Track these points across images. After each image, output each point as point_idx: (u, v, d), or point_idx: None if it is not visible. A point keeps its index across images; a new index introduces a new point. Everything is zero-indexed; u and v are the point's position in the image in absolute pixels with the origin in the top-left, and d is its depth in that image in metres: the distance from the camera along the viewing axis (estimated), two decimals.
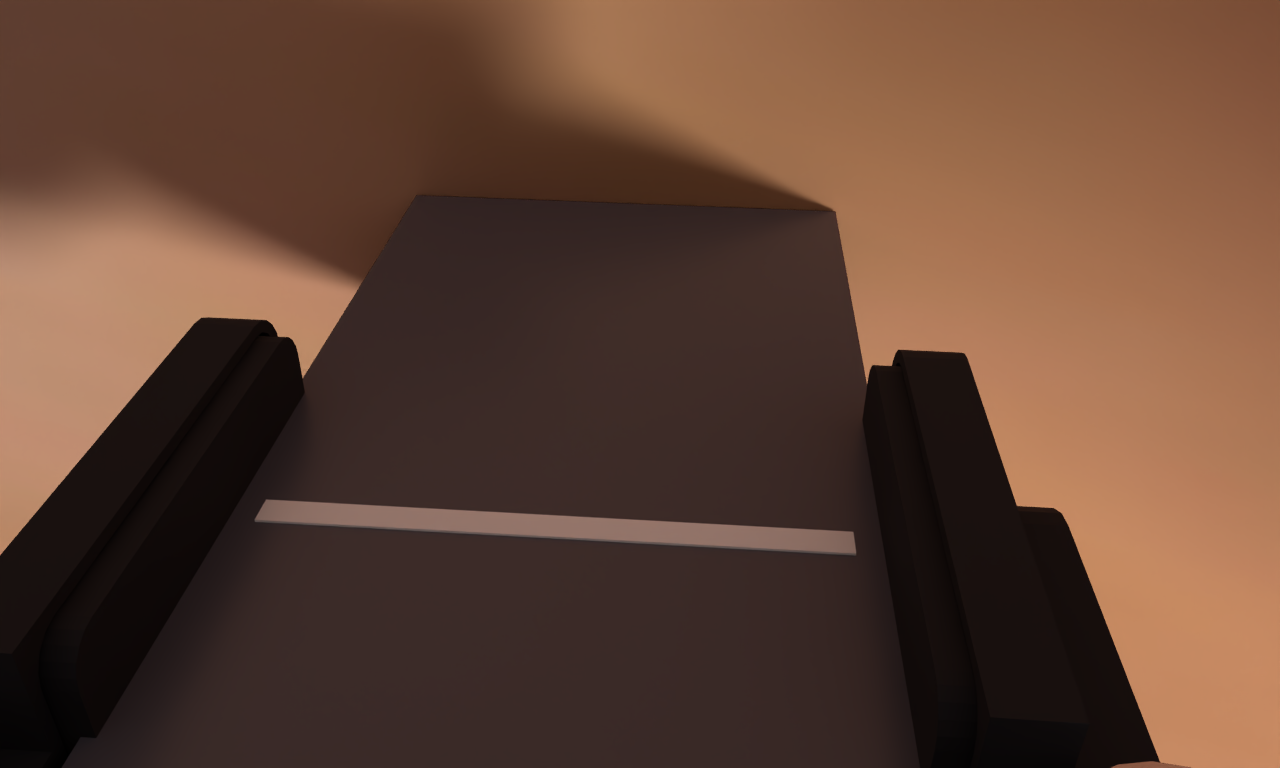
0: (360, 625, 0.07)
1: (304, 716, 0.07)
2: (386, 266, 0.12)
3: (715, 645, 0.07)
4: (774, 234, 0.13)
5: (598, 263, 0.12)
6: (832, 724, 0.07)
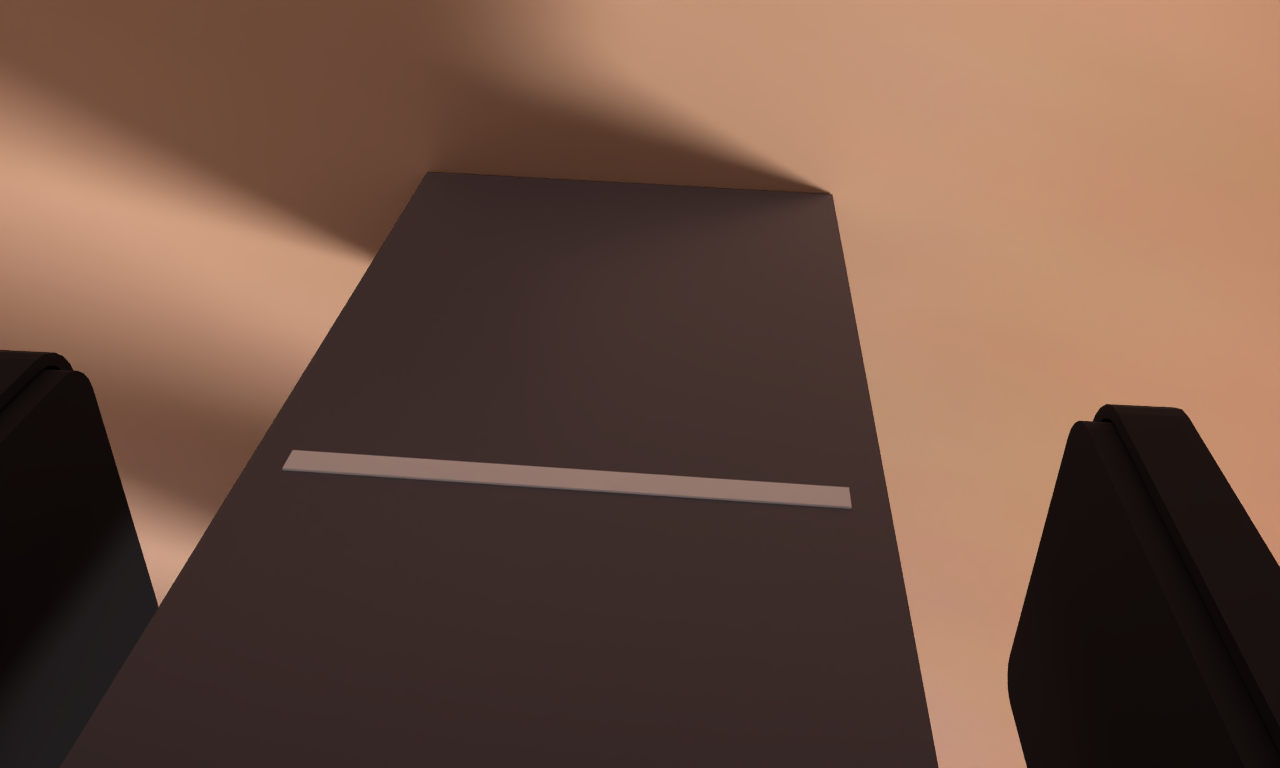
0: (386, 564, 0.08)
1: (338, 642, 0.07)
2: (400, 237, 0.12)
3: (720, 586, 0.08)
4: (773, 214, 0.13)
5: (605, 238, 0.12)
6: (829, 657, 0.07)
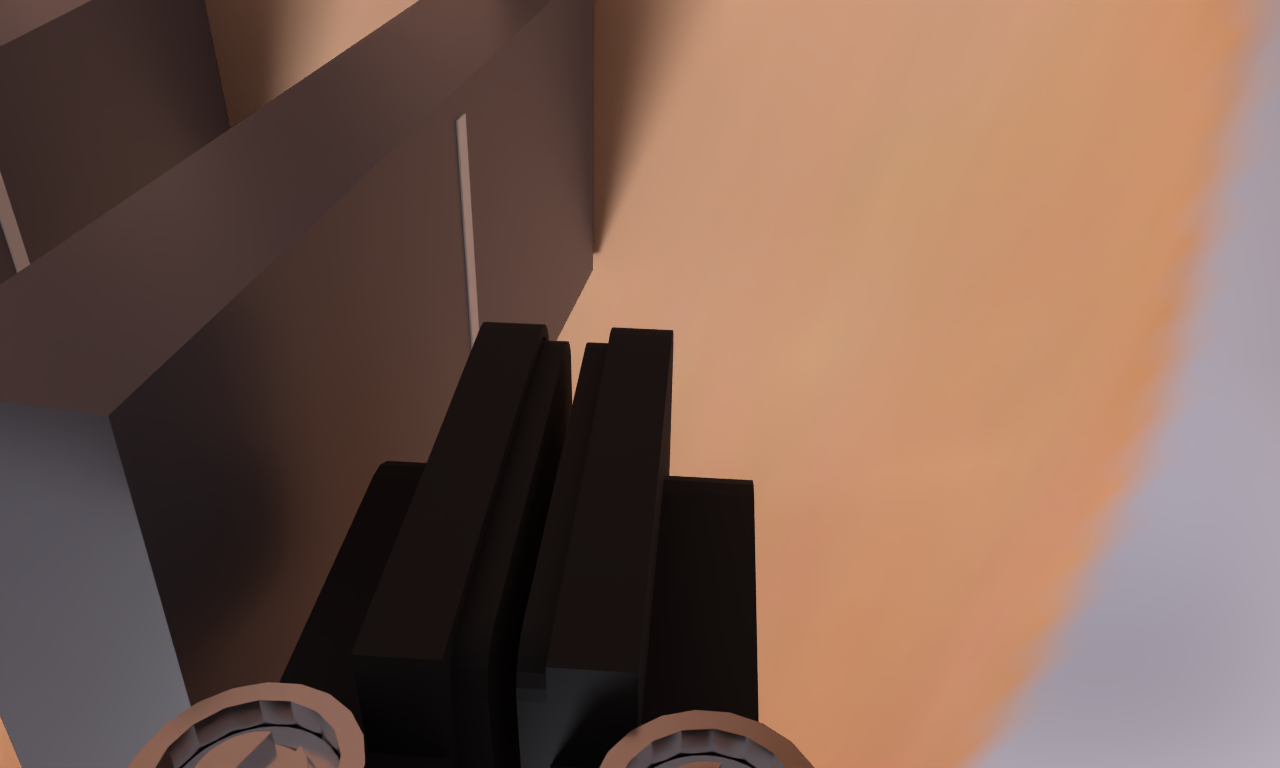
0: (430, 258, 0.11)
1: (401, 283, 0.10)
2: (560, 4, 0.15)
3: None
4: (582, 247, 0.18)
5: (567, 156, 0.16)
6: None
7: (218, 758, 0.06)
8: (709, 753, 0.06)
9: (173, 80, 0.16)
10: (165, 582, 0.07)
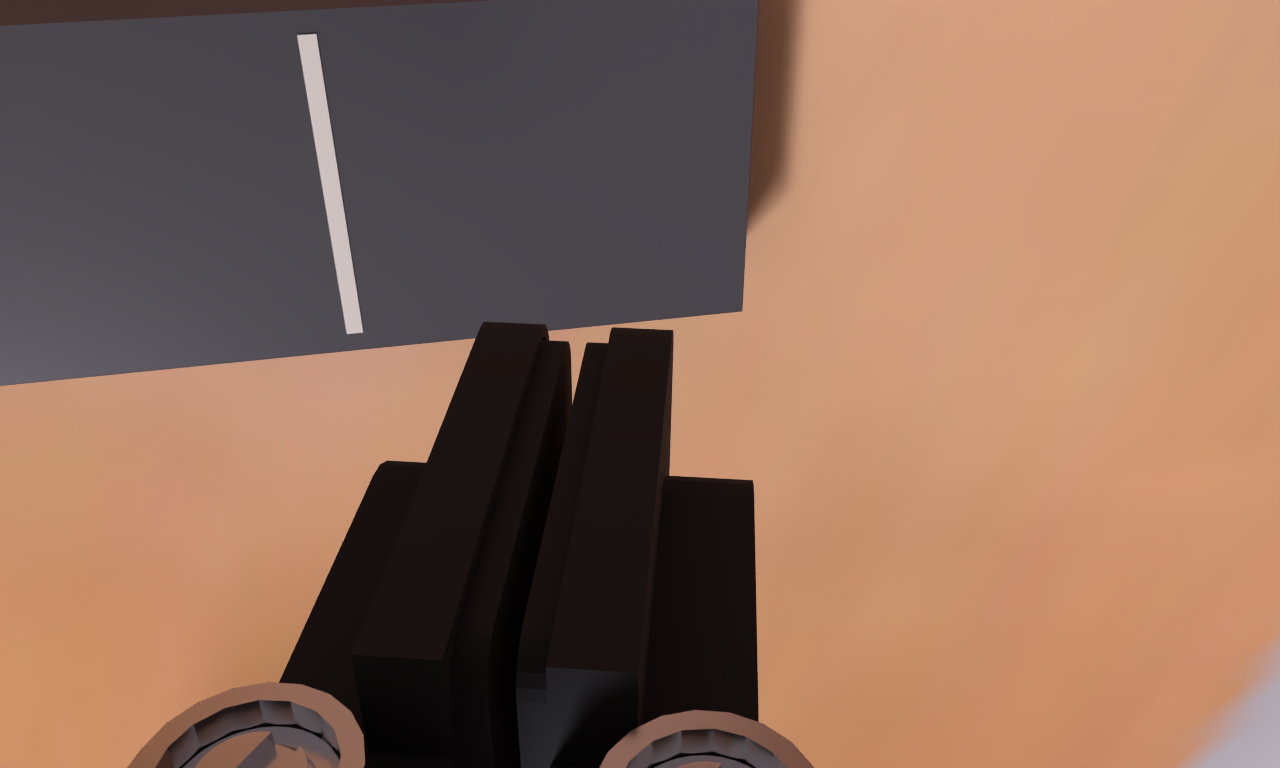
0: (234, 121, 0.15)
1: (171, 117, 0.14)
2: (620, 5, 0.15)
3: (268, 280, 0.16)
4: (699, 273, 0.17)
5: (642, 162, 0.16)
6: (235, 327, 0.16)
7: (219, 759, 0.06)
8: (709, 753, 0.06)
9: None
10: None
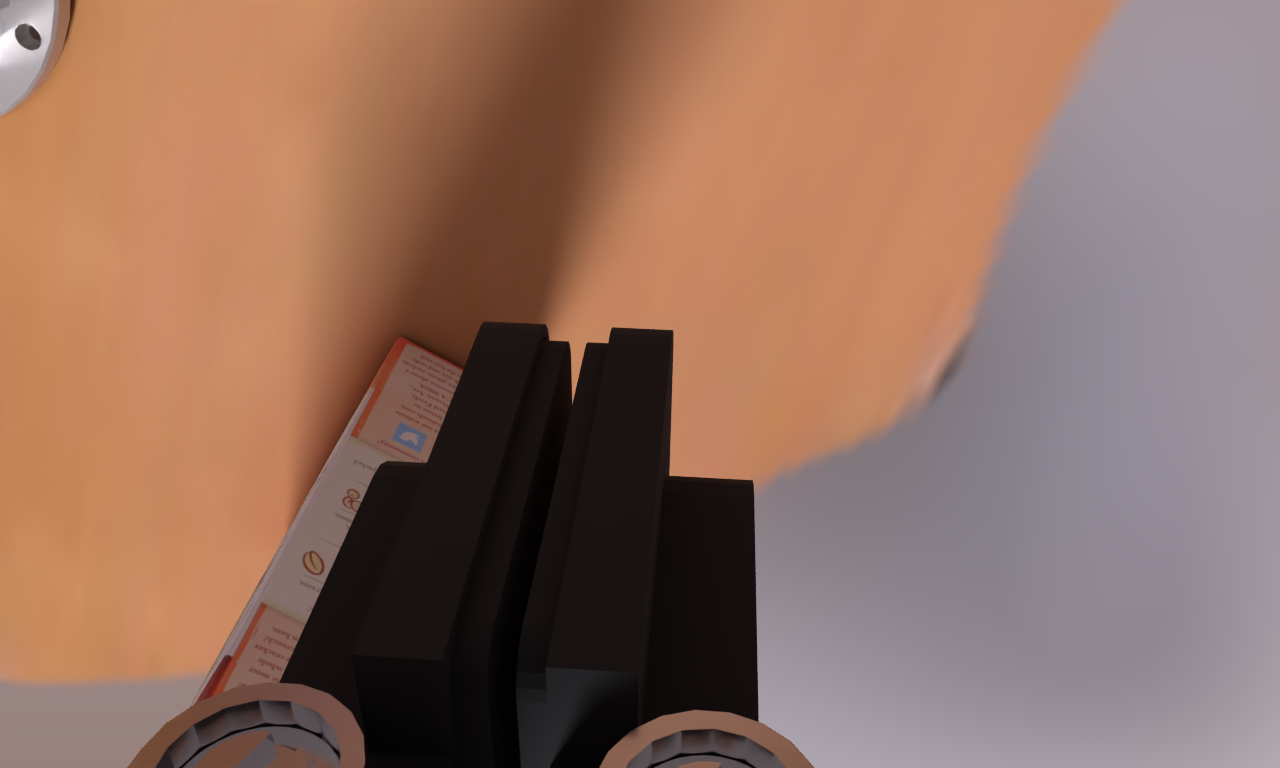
0: None
1: None
2: None
3: None
4: None
5: None
6: None
7: (218, 758, 0.06)
8: (709, 753, 0.06)
9: None
10: None
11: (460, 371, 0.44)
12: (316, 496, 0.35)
